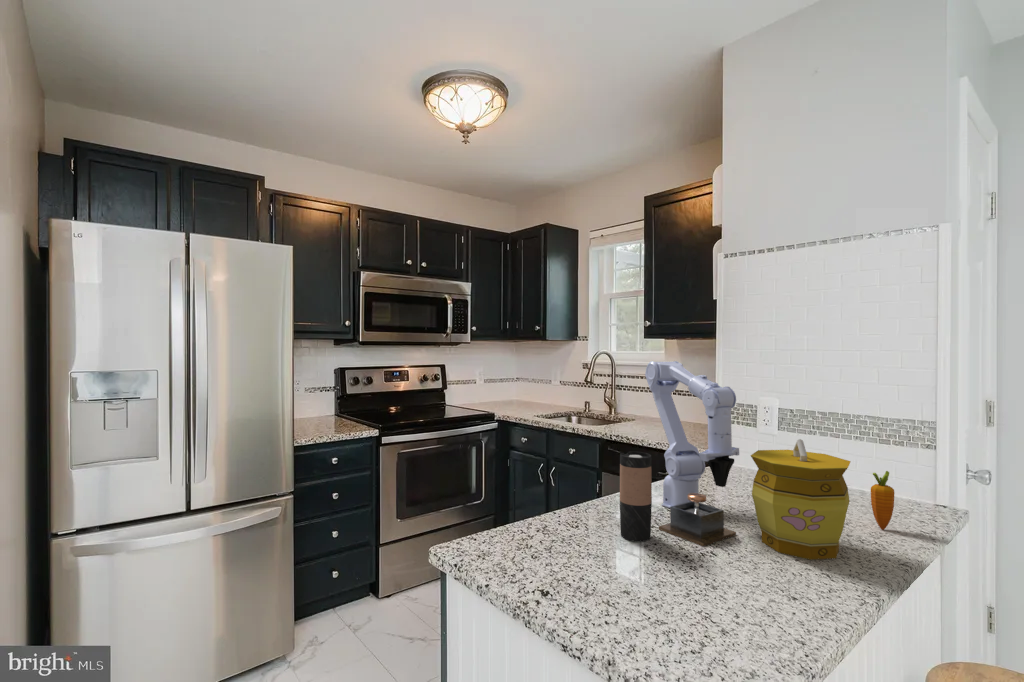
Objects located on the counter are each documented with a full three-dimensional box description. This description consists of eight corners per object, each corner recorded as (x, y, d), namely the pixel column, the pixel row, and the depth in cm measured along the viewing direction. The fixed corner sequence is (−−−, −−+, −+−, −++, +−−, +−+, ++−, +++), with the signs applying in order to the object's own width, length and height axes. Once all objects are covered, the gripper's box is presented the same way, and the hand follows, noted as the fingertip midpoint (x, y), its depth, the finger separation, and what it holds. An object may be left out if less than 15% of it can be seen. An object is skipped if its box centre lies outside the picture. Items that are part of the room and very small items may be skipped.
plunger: (677, 514, 126) (677, 494, 126) (694, 510, 130) (694, 490, 130) (699, 522, 121) (699, 501, 121) (716, 517, 124) (716, 496, 124)
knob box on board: (658, 529, 127) (658, 505, 127) (691, 519, 134) (691, 497, 134) (703, 546, 116) (703, 520, 116) (736, 535, 123) (736, 510, 124)
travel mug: (652, 543, 118) (652, 458, 118) (619, 540, 120) (619, 457, 120) (650, 531, 125) (650, 452, 126) (619, 529, 127) (619, 450, 127)
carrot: (872, 531, 127) (872, 471, 127) (869, 525, 131) (868, 467, 131) (896, 534, 124) (896, 474, 125) (892, 528, 129) (892, 470, 129)
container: (834, 534, 124) (834, 434, 125) (870, 571, 104) (870, 450, 104) (742, 526, 130) (742, 430, 130) (759, 558, 110) (759, 444, 110)
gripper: (716, 437, 123) (717, 493, 122) (749, 432, 131) (750, 485, 131) (692, 434, 129) (693, 487, 128) (725, 429, 137) (726, 479, 136)
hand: (720, 485), depth 130 cm, fingers closed
